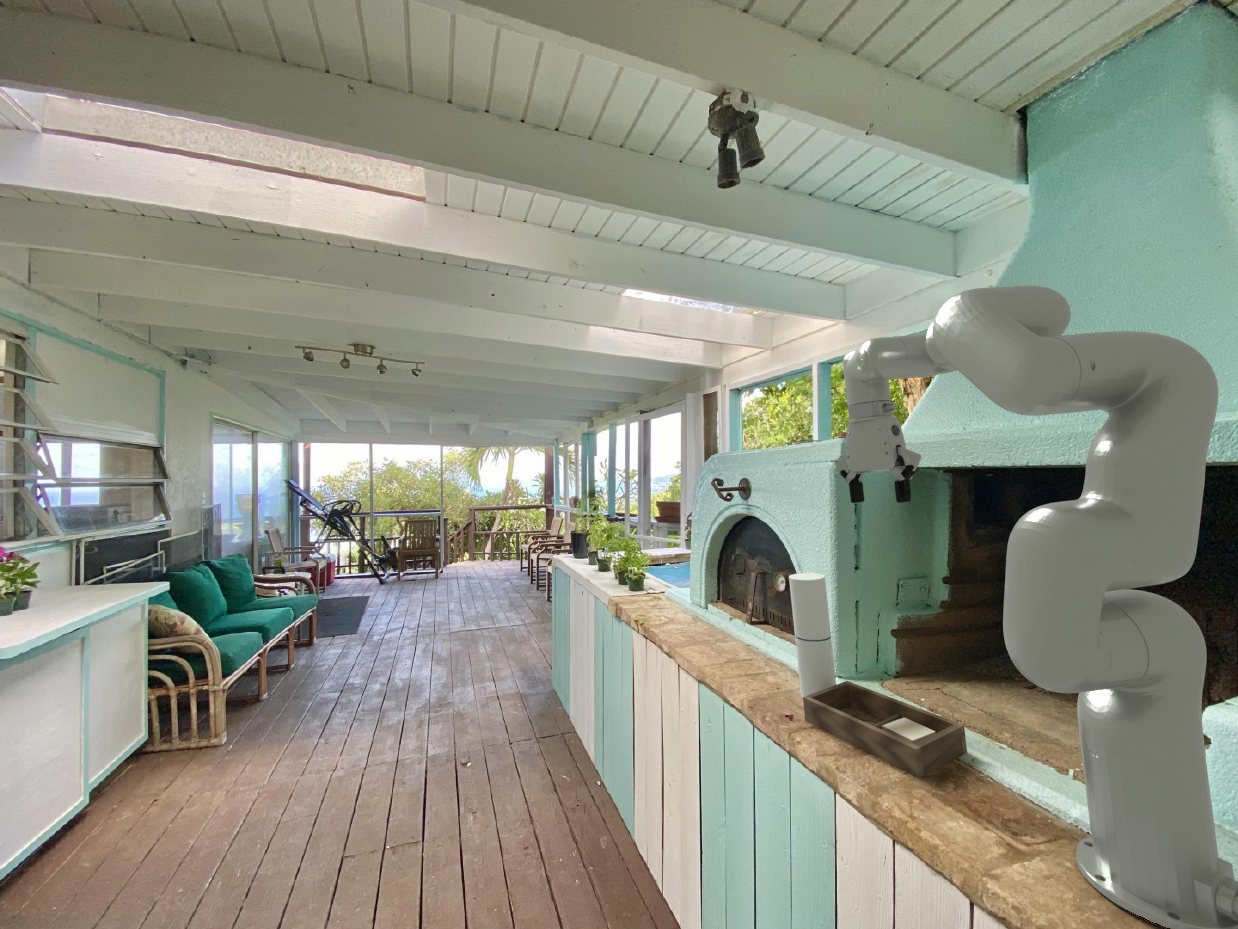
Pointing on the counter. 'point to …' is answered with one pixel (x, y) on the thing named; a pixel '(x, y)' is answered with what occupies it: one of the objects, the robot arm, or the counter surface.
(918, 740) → the offcut top
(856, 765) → the counter surface
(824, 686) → the cylindrical container
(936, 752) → the tray
